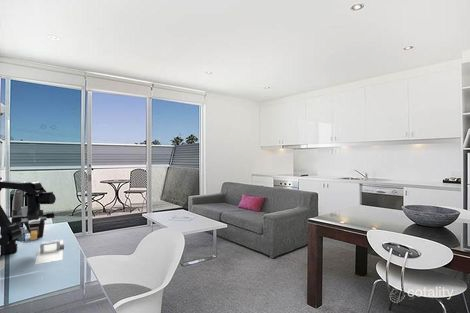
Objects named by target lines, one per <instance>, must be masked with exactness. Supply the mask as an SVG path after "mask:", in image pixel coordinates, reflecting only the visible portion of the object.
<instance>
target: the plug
mask: <svg viewBox="0 0 470 313" xmlns="http://www.w3.org/2000/svg"><path fill="white" fill-rule="evenodd" d="M37 235H39V227H34V228H30V233H29V237H30V241H31V240H38V238H37Z"/></svg>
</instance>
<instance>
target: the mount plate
mask: <svg viewBox="0 0 470 313" xmlns="http://www.w3.org/2000/svg"><path fill="white" fill-rule="evenodd" d="M60 244H64V239H60ZM36 256H37V257H36V260H35V263H34V266H35V265H41V264H46V263H51V262H52V263H53V262H57V261H62V260H63V259H64V258H63V256H64V249H60V250H57V243H55V244H49V245H44V253H40V247H39V249H38V252H37V255H36Z"/></svg>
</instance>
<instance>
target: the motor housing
mask: <svg viewBox="0 0 470 313" xmlns="http://www.w3.org/2000/svg"><path fill="white" fill-rule="evenodd" d="M60 240H61V239H54V240H46V241H41V242H40V244H39V248H40V253H44V245H49V244H55V243H57V250H60V249H63V250H64V249H65V243H63V244H60Z"/></svg>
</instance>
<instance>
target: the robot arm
mask: <svg viewBox="0 0 470 313" xmlns="http://www.w3.org/2000/svg"><path fill="white" fill-rule="evenodd" d="M3 189H7V190H19V191H22V192H23V193H25V194H24V195H22V197H23V198H26V203H27V210H28V212H27V216H22V214H18V215H13V216H12V218H11V220H10V218H9V216H8V215H7V214H6V212H5V210H4V209H3V207H2V204H0V236H1V237H0V257H3V256H9V255H14V254H16V253H17V252H18V243H17V241H19V240H20V237H21V236H22V233H23V232H22V228H21V227H20V225H19V224H18V223H20V224H23V225H24V226H25V229H27V230H28V232H29V233H28V234H30V226H29V223H30V222H32V221H40V225H39V232H40V230H41V227H42V224H43V222H44V221H47V219H54V218H55V211H46V212H45V213H44V209H41V205H53V204H55V202H56V200H57V199H56V198H57V197H56V195H55V194H54V191H49V192H48V191H47V190H46V189H45V188H44V187H43V185H42V183H41V182H40V181H27V182H21V181H20V182H19V181H9V180H2V179H1V180H0V192H1V191H2V190H3ZM15 223H16V224H15Z"/></svg>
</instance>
